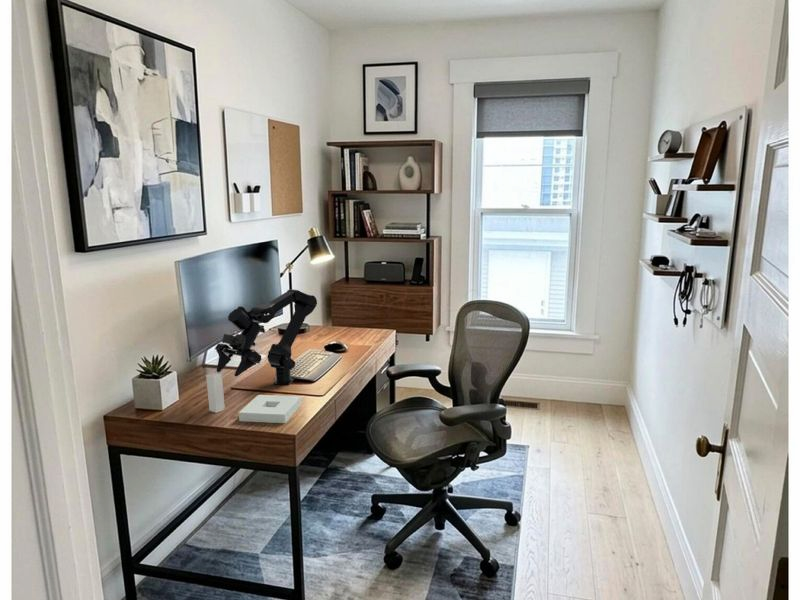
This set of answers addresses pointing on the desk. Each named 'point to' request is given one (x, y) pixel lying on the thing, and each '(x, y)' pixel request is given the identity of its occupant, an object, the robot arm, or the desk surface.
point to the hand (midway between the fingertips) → (226, 373)
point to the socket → (270, 409)
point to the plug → (215, 392)
